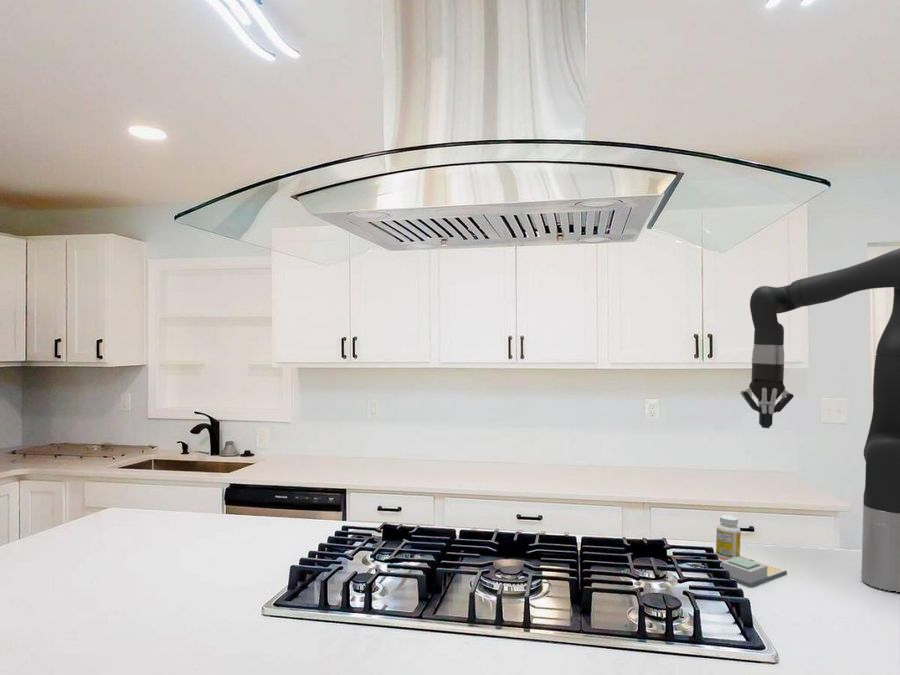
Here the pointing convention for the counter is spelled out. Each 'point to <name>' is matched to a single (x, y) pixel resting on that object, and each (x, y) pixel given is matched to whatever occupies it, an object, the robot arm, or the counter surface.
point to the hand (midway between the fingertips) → (765, 427)
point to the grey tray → (750, 572)
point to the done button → (744, 563)
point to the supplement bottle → (728, 537)
